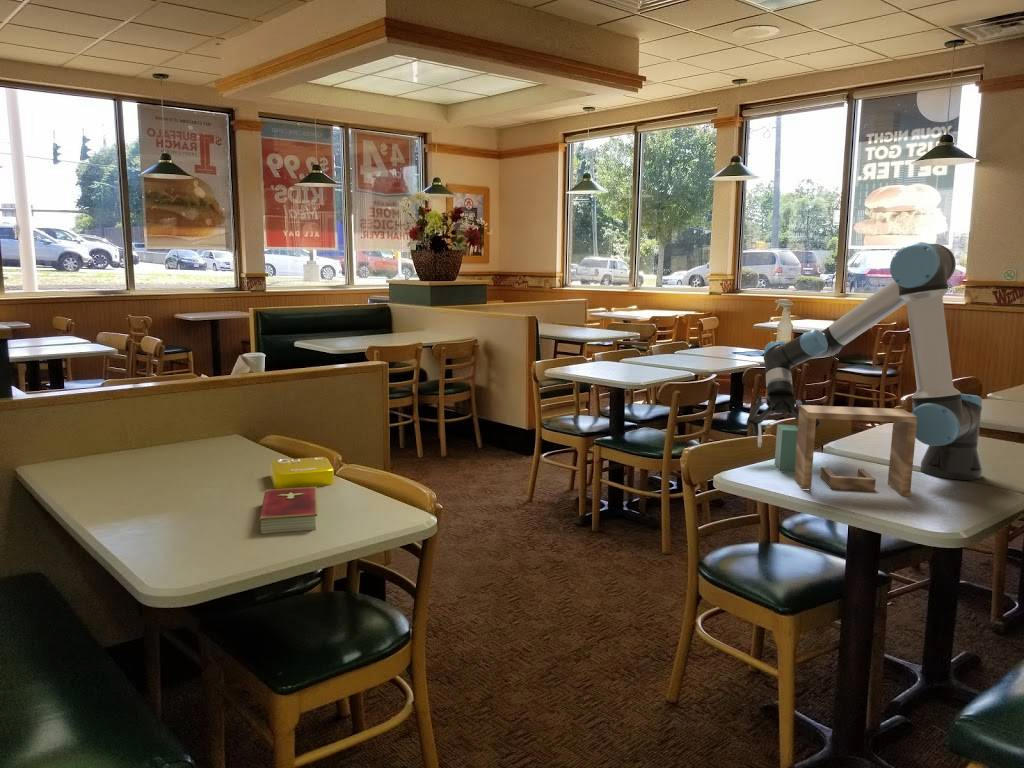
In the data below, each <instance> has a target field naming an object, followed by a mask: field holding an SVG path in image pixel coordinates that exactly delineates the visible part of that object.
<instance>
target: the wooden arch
mask: <svg viewBox="0 0 1024 768" xmlns="http://www.w3.org/2000/svg"><path fill="white" fill-rule="evenodd" d="M798 410H799V418H798V420H797V427H798V432H797V446H796V460H795V472H794V473H793V474H794V477H793V479H794V481H795V480H796V481H797V482H796V481H795V482H796V484H797V485H798V484H799V485H800V486H801V487H800V486H799V485H798V486H799V487H800V488H802V489H809V490H811V491H812V477H813V464H814V453H815V452H814V451H815V450H814V448H815V441H816V440H815V439H816V438H815V437H816V429H815V427H816V419H818V420H819V419H820V420H843V421H867V422H886V423H887V422H888V423H889V422H890V423H892V433H891V443H890V455H889V467H888V478H887V485H888V486H889V487H891V488H892V489H893V490H894V491H895V492H897V494H898V495H900V496H901V497H911V487H912V479H913V478H912V476H913V468H914V458H915V457H914V456H915V447H916V445H915V444H916V438H915V437H916V426H917V416H915V415H913V414H911V412H909V411H907V410H906V409H903V408H887V407H884V408H883V407H860V406H832V405H811V404H810V405H809V404H807V405H799V407H798ZM820 479H821V480H822V481H823V483H824V484H825V485H826V486H827V485H828V486H829V487H830V488H829V487H828V486H827V487H828V488H829V489H831V488H841V489H840V490H849V489H856V490H855V491H870V492H874V491H876V490H875V489H876V479H875V478H874V477H873V476H872V475H871V474H870V473H869V472H867V471H866V470H865V469H863V468H857V475H856V476H842V475H841V476H840V475H839V476H838V475H835V474H834V473H833V472H832V471H831V469H829V468H828V467H827V466H821V467H820ZM802 489H801V490H802Z"/></svg>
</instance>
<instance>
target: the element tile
mask: <svg viewBox="0 0 1024 768" xmlns="http://www.w3.org/2000/svg"><path fill="white" fill-rule="evenodd" d="M269 467H270V468H269V469H270V479H271V482H272V486H273V488H274V489H291V488H308V487H321V486H329V485H333V484H334V483H335V471H334V470H335V469H334V467H333V466H332V464H331V462H330V460H329V459H328V458H327V457H325V456H314V457H303V458H283V459H277V460H272V461H271V462H270V463H269Z"/></svg>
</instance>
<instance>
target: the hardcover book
mask: <svg viewBox="0 0 1024 768" xmlns="http://www.w3.org/2000/svg"><path fill="white" fill-rule="evenodd" d="M317 490H318V486H312V487H301V488H289V489H276V488H274V489H266V490H265V491H264V495H263V499H262V500H263V501H262V504H261V509H260V513H259V514H260V515H259V519H258V527H257V528H258V533H259V535H262V534H268V533H270V534H272V533H281V532H282V533H284V532H285V533H286V532H302V531H314V530H316V528H317V527H316V523H317V522H316V517H318V495H317V494H318V492H317Z"/></svg>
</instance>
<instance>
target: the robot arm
mask: <svg viewBox="0 0 1024 768" xmlns="http://www.w3.org/2000/svg"><path fill="white" fill-rule="evenodd" d="M955 271H956V257H955V255H954V253H953V252H952V251H951V250H950V249H949V248H948V247H946V246H944V245H941V244H938V243H928V242H921V241H920V242H915V243H910V244H907V245H904V246H902V247H901V248H900V249H898V250H897V252H895V254H894V255H893V256H892V258H891V261H890V264H889V273H890V276H891V278H892V281H890V282H889V283H887V284H886V285H884V286H883V287H882V288H880V289H879V290H878V291H876V292H874V293H873V294H872V295H870V296H869V297H867V298H866V299H865V300H864V301H862V302H860V303H859V304H858V305H856V306H855V307H854V308H852V309H851V310H850V311H848V312H847V313H845V314H844V315H842V316H841V317H840V318H838V319H837V320H835V321H834V322H833V323H831V324H830V325H829V326H827V327H826V328H825V329H823V330H821V331H820V330H818V329H817V328H815V329H811V330H809V331H806V332H804V333H802V334H801V335H799V336H798V337H797V336H796V338H794V339H791V340H789V341H788V342H785V341H782V340H776V341H770V342H768V343H767V344H766V345H765V346H764V350H763V352H764V353H763V362H764V369H765V374H764V375H765V384H766V385H765V386H766V398H762V396H761V395H759V396H757V399H756V404H754V407H753V408H752V411H751V412H750V414H749V416H747V419H746V426H751V427H752V431H753V432H752V433H753V436H754V437H757V448H762V445H763V436H762V435H763V434H762V423H763V422H764V421H765V420H766V419H767V418H768V417H769V416H771V414H773V413H775V414H777V415H778V414H785V415H787V414H788V415H790V416H791V417H793V418H795V420H796V421H798V418H799V409H798V408H799V405H808V404H807V401H806V398H803V397H802V398H801V399H795V396H794V395H795V394H794V387H793V378H792V368H794V367H797V366H798V365H800V364H803V363H804V362H807V361H810V360H811V359H812V360H813V359H819V358H829V357H832V356H835V355H837V354H839V353H840V351H841V350H842V348H844V346H846V345H847V344H849V343H851V342H852V341H853V340H855V339H856V338H857V337H858V336H860V335H861V334H863V333H865V332H866V331H868V330H870V329H871V328H872V327H873V326H875V325H876V324H878V323H879V322H881V321H882V320H884V319H885V318H887V317H889V316H890V315H891V314H893V313H894V312H896V311H897V310H898V309H900V308H901V307H903V306H905V305H906V308H907V309H906V310H907V311H906V312H907V317H908V326H909V334H910V342H911V350H912V351H911V352H912V357H913V358H912V359H913V360H912V361H913V368H914V376H915V383H916V391H915V392H914V393H913V394H912V395H911V401H912V403H911V404H912V405H911V406H912V410H911V412H910V413H911V414H913V415H915V416H917V426H916V437H915V440H917V441H919V442H920V443H921V444H922V443H923V444H924V445H927V446H928V447H927V449H926V451H925V453H924V455H923V458H922V459H921V461H920V468H919V469H920V471H922V472H923V473H924V474H927V475H930V476H933V477H938V478H944V479H949V480H960V481H972V480H973V481H974V480H979V479H981V478H982V474H983V467H982V463H981V459H980V457H979V452H978V443H979V434H980V425H981V417H982V409H983V404H982V403H983V400H982V397H981V396H980V395H979V396H978V395H975V394H965V393H961V391H960V390H958V389H957V388H955V386H954V381H953V374H952V373H953V372H952V365H951V356H950V349H949V340H948V331H947V324H946V323H947V322H946V314H945V307H944V299H943V298H944V296H945V295H946V293H948V291H949V284H948V281H949V280H950V279H951V277H952V276H953V275H954V272H955ZM765 404H766V406H767V408H766V409H764V410H763V412H762V413H761V414H759V415H758V416H757V414H758V412H759V411H760V408H761V407H763V406H764V405H765ZM796 406H797V407H798V408H797V407H796ZM756 416H757V417H756ZM755 417H756V418H755ZM820 424H821V423H820V420H819V419H816V427H815V430H818V429H819V426H820Z"/></svg>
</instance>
